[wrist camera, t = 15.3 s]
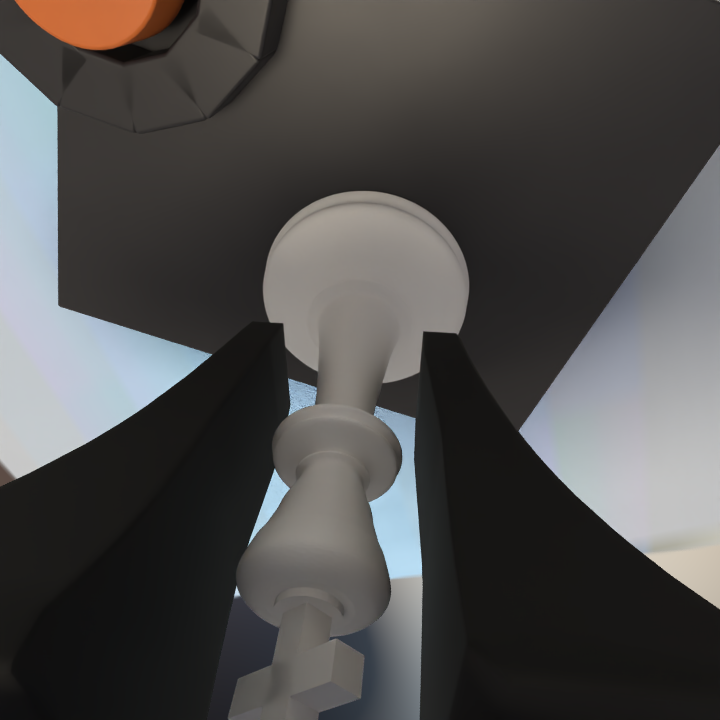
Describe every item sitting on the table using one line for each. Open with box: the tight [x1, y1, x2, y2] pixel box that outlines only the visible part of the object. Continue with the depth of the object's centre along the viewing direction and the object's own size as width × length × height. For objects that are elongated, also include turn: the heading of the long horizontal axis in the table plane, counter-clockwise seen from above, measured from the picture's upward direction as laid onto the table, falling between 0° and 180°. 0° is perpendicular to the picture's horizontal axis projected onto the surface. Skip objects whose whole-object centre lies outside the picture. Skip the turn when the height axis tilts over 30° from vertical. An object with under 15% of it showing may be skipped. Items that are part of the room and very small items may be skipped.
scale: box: [0, 0, 720, 431], centre depth 12 cm, size 14×11×2 cm
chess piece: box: [228, 191, 469, 720], centre depth 10 cm, size 5×5×10 cm
